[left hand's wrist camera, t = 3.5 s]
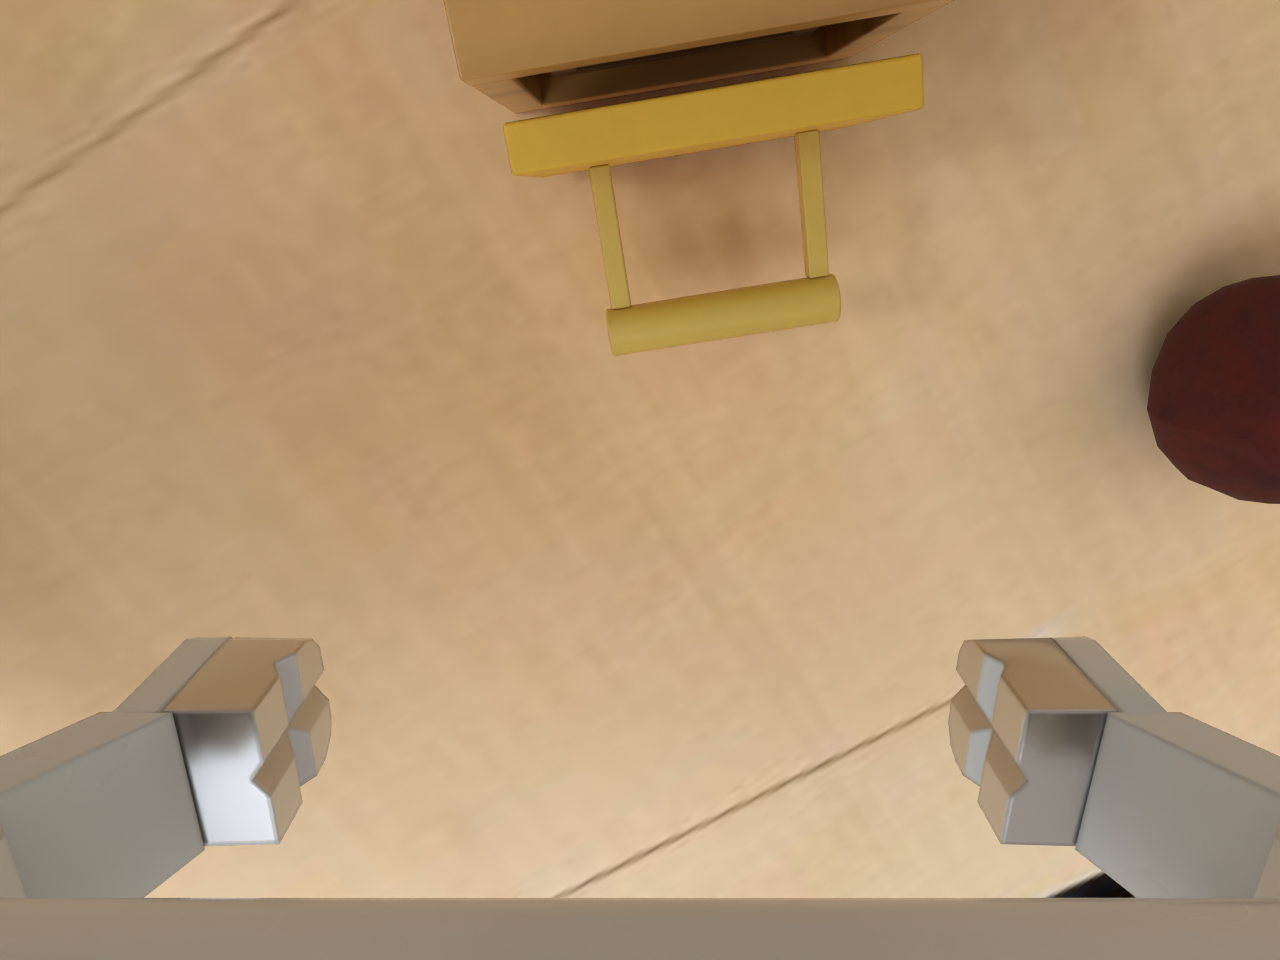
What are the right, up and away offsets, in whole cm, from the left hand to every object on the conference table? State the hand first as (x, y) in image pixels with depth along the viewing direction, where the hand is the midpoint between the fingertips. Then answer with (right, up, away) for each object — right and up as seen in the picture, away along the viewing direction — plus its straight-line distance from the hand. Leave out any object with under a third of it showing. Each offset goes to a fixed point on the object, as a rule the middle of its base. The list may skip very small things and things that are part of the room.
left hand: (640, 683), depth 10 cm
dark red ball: (+21, +7, +20) cm, 30 cm away
